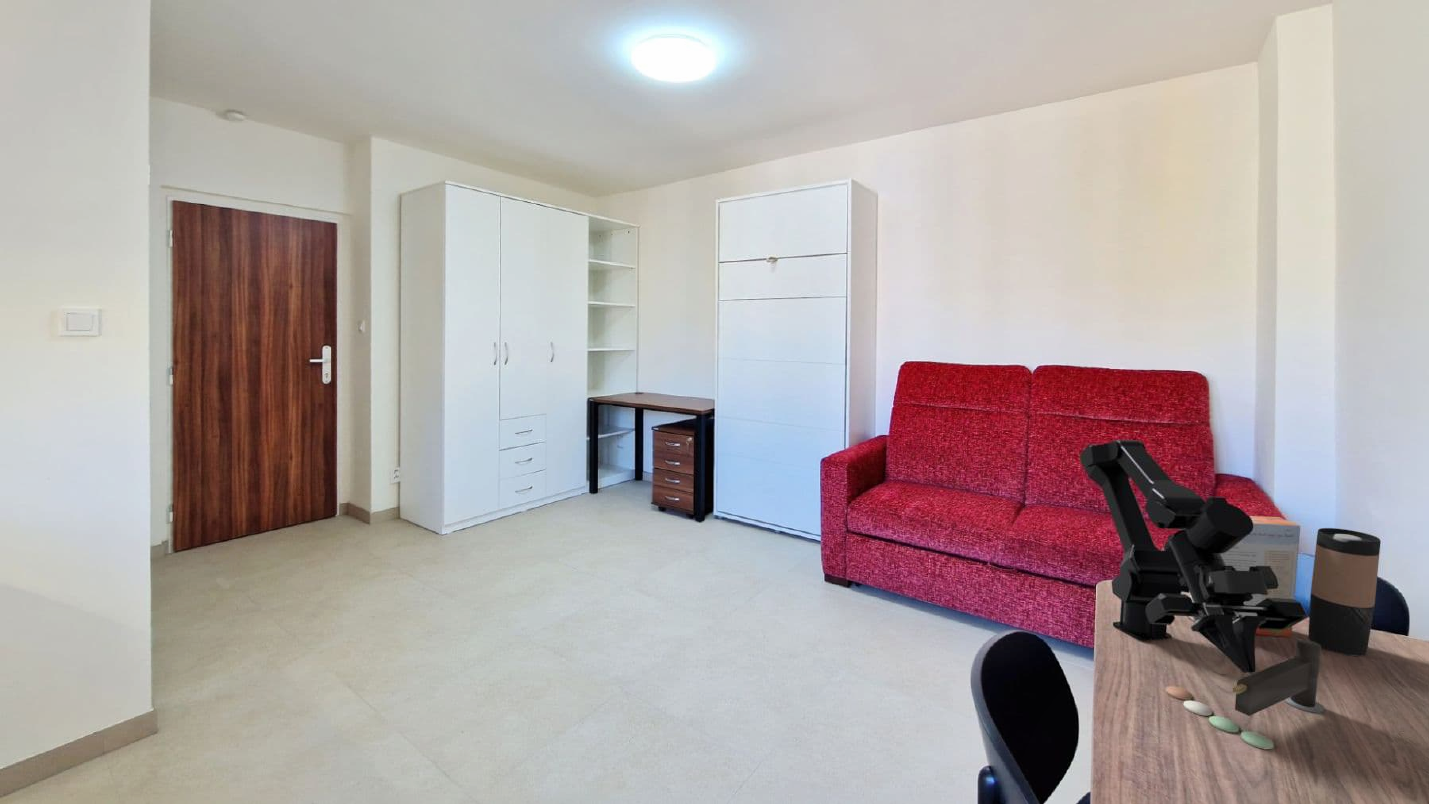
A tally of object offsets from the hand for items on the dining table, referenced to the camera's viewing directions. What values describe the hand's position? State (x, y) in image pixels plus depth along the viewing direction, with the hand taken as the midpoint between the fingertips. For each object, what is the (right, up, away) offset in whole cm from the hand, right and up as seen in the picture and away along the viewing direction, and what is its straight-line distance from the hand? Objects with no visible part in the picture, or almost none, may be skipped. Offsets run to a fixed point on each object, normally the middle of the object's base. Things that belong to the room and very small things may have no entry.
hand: (1249, 672), depth 83 cm
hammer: (+4, -7, +1) cm, 8 cm away
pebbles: (+4, -7, +3) cm, 9 cm away
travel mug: (+34, -5, +21) cm, 41 cm away
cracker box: (+23, -4, +28) cm, 36 cm away
